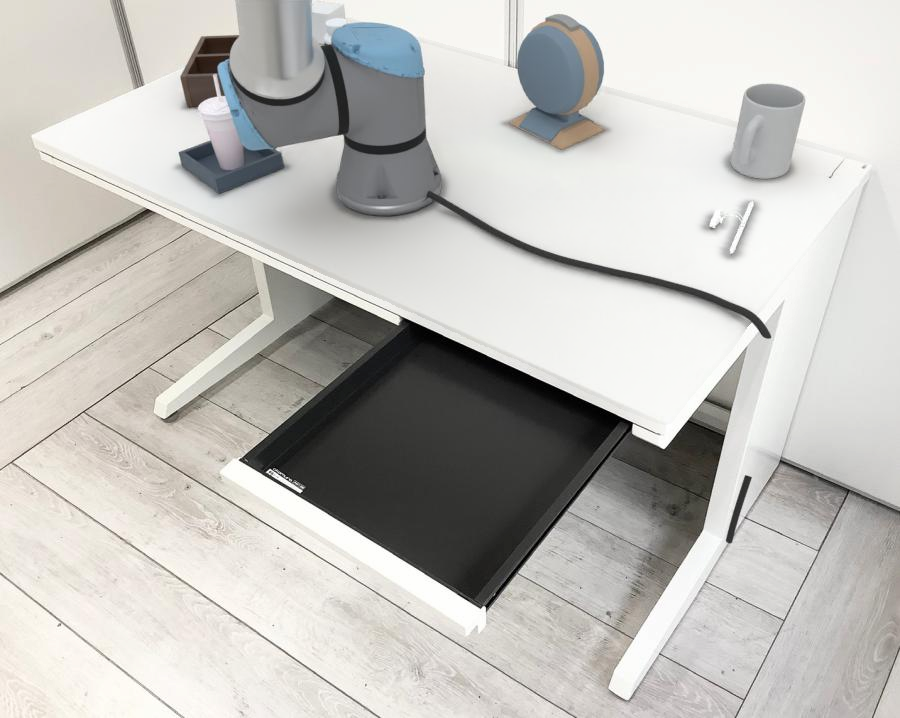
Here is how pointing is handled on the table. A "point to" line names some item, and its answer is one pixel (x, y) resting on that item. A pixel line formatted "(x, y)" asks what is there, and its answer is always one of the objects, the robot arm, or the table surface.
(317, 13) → the white cube
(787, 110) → the mug
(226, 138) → the smoothie
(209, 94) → the rack
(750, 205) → the picture light
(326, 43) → the pill bottle
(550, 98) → the alarm clock
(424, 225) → the table surface
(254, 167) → the tray
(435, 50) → the table surface
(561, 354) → the table surface
